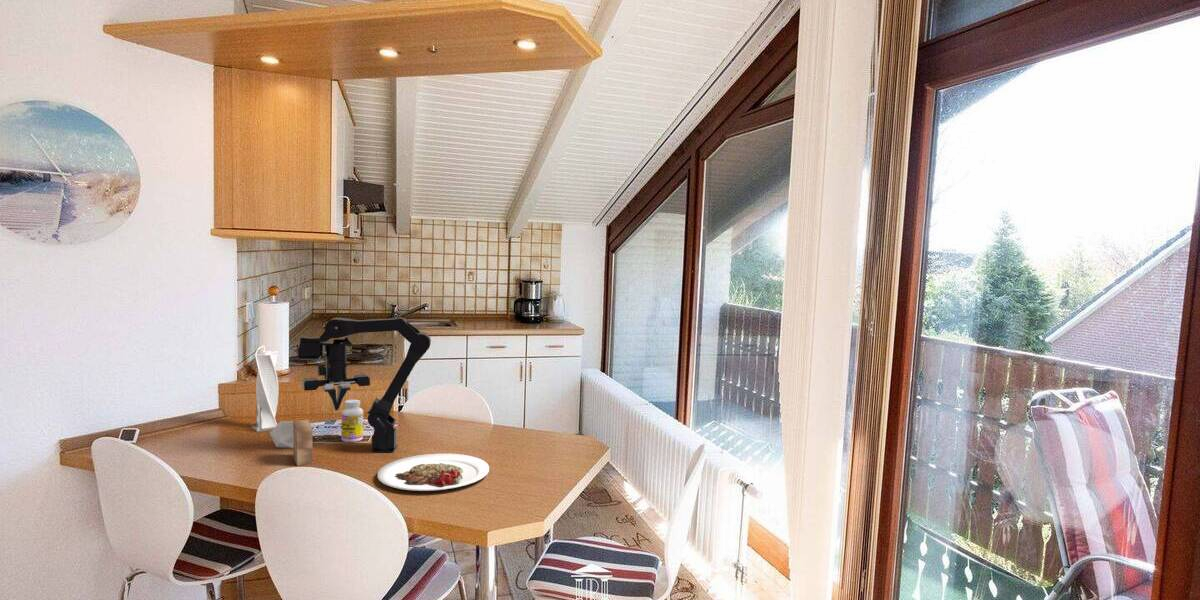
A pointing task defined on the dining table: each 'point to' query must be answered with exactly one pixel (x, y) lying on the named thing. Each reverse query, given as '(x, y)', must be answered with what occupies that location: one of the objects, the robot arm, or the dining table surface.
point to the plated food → (433, 472)
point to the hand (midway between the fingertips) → (336, 410)
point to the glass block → (302, 442)
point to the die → (283, 434)
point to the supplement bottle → (352, 422)
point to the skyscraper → (266, 390)
